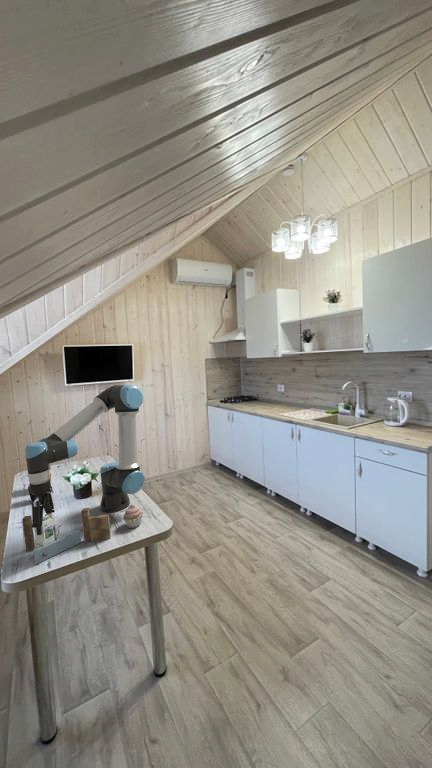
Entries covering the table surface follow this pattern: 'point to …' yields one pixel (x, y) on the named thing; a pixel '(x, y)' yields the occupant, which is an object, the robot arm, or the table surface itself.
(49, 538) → the syrup box
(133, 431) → the robot arm
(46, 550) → the pale blue flat bar
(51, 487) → the mug
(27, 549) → the door frame
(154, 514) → the table surface
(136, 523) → the cupcake
